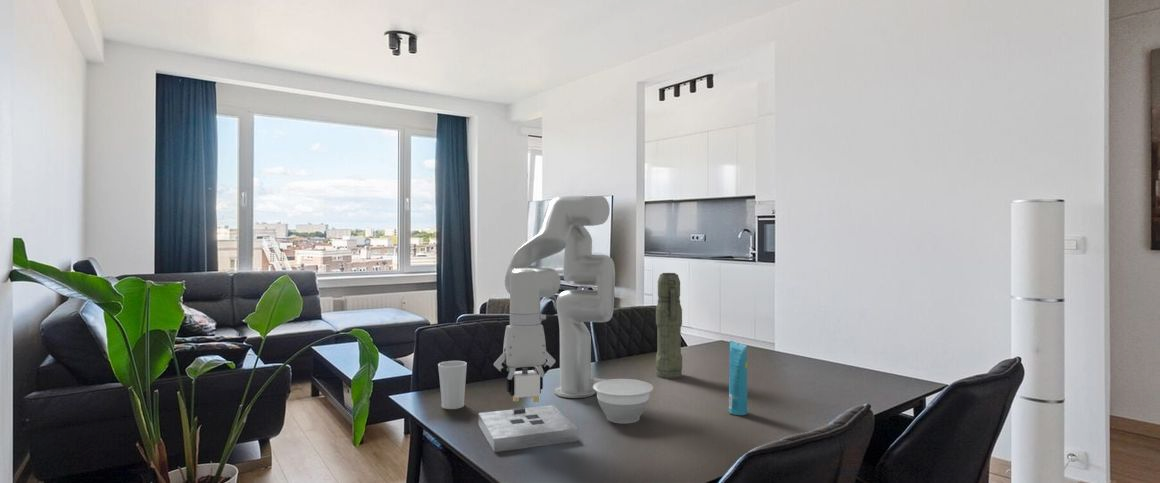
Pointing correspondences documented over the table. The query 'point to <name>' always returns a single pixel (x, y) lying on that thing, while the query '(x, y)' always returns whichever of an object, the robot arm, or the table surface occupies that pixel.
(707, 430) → the table surface
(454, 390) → the cup
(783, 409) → the table surface
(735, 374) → the tube
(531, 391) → the plug
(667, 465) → the table surface
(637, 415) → the bowl
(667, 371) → the thermos
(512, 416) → the socket
